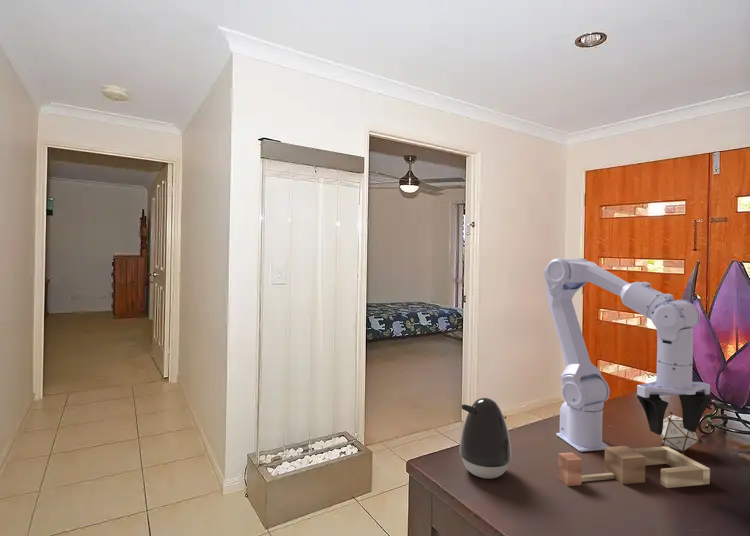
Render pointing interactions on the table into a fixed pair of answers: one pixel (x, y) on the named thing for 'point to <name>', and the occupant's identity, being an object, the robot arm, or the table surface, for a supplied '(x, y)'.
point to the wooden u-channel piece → (676, 467)
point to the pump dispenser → (485, 440)
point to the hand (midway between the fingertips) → (672, 431)
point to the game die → (677, 434)
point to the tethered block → (617, 466)
